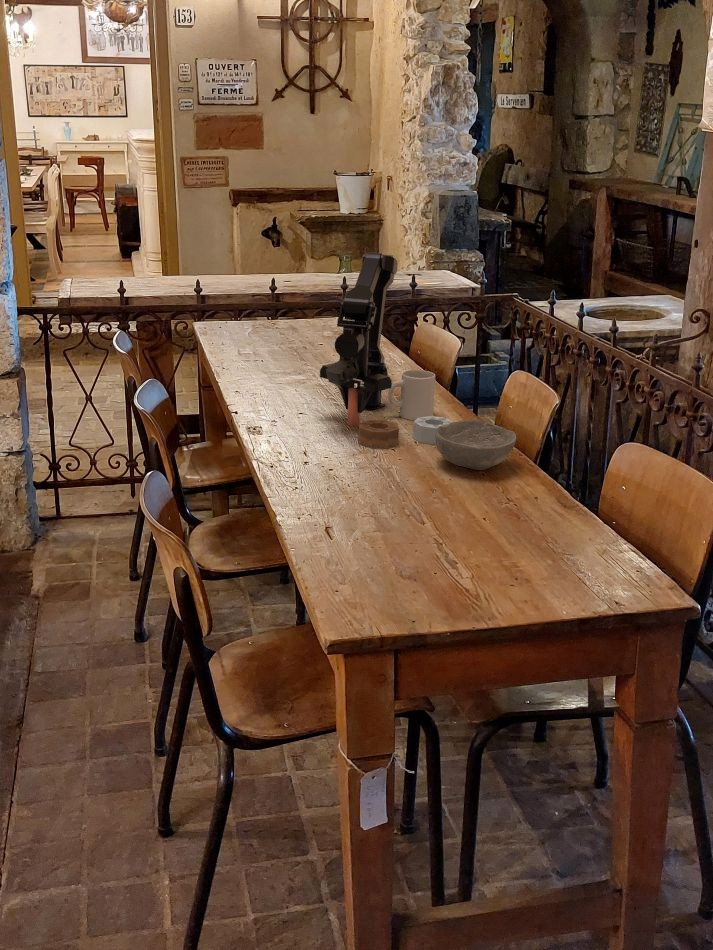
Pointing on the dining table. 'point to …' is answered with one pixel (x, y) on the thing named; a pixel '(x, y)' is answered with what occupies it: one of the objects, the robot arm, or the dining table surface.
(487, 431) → the bowl
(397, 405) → the mug
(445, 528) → the dining table surface
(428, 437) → the slate bead
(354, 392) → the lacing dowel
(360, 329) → the robot arm
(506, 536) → the dining table surface
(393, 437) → the walnut bead
